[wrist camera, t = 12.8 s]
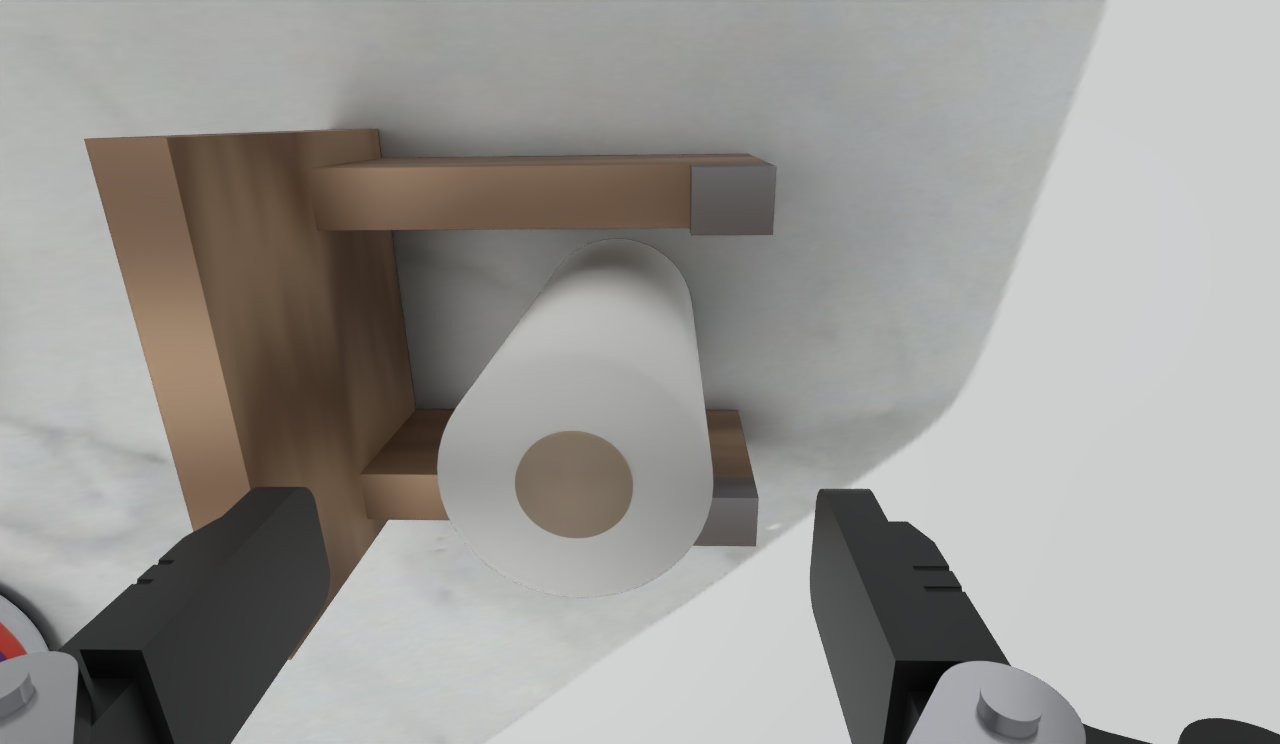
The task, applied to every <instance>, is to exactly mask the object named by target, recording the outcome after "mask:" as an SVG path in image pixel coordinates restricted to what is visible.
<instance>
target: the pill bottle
mask: <svg viewBox="0 0 1280 744" xmlns="http://www.w3.org/2000/svg"><path fill="white" fill-rule="evenodd" d="M44 651H49V650H48V648H47V645H46V643H45V641H44V639H43V637H42V636H41V634H40V632H39V631H38V630H37V628H36V627H35V626H34V624H33V623H32V622H31V620H30V619H29V618H28V617H27V616H26V615H25V614H24V613H23V612H22V611H21V610H19V609H18V608H17V607H16V606H15V605H14V604H12V603H11V602H10V601H8V600H7V599H6V598H4V597H3V596H1V595H0V662H3V661H5V660H8V659H11V658H15V657H18V656H22V655H26V654H31V653H36V652H44Z"/></svg>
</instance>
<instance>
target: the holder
mask: <svg viewBox="0 0 1280 744" xmlns="http://www.w3.org/2000/svg"><path fill="white" fill-rule="evenodd" d="M84 140H85V144H86V147H87V151H88V154H89V158H90V162H91V165H92V169H93V172H94V176H95V180H96V183H97V187H98V190H99V194H100V198H101V201H102V205H103V208H104V212H105V215H106V219H107V223H108V226H109V230H110V233H111V237H112V241H113V244H114V248H115V251H116V255H117V259H118V262H119V266H120V269H121V273H122V276H123V280H124V284H125V287H126V291H127V294H128V298H129V302H130V305H131V309H132V312H133V316H134V320H135V323H136V327H137V330H138V334H139V337H140V341H141V345H142V348H143V352H144V355H145V359H146V363H147V366H148V370H149V373H150V377H151V380H152V384H153V388H154V391H155V395H156V398H157V402H158V406H159V409H160V413H161V416H162V420H163V424H164V427H165V431H166V434H167V438H168V441H169V445H170V449H171V452H172V456H173V459H174V463H175V467H176V470H177V474H178V477H179V481H180V485H181V488H182V492H183V495H184V499H185V502H186V506H187V510H188V513H189V517H190V520H191V524H192V528H193V531H196V530H198V529H200V528H202V527H203V526H205V525H207V524H209V523H210V522H212V521H214V520H216V519H218V518H221V517H222V516H223V515H224V514H225V513H226V512H227V511H228V510H229V509H231V508H232V507H233V506H234V505H235V504H236V503H237V502H238V501H239V500H240V499H241V498H242V497H243V496H245V495H246V494H247V493H248V492H249V491H250V490H251V489H253V488H255V487H306V488H308V489H309V490H310V491H311V492H312V494H313V496H314V498H315V502H316V506H317V511H318V515H319V520H320V525H321V529H322V534H323V538H324V543H325V548H326V552H327V557H328V562H329V566H330V587H329V592H328V596H327V599H326V602H325V604H324V606H323V608H322V610H321V611H320V613H319V614H318V616H317V617H316V619H315V620H314V622H313V623H312V624H311V626H310V627H309V629H308V630H307V632H306V633H305V635H304V636H303V638H302V639H301V641H300V642H299V644H298V645H297V647H296V648H295V649H294V651H293V652H292V654H291V655H290V657H289V658H288V660H291V659H292V658H293V656H294V655H295V653H296V652H297V650H298V649H299V648H300V646H301V645H302V643H303V642H304V640H305V639H306V638H307V636H308V635H309V633H310V632H311V630H312V629H313V627H314V626H315V625H316V623H317V622H318V620H319V619H320V617H321V616H322V615H323V613H324V612H325V610H326V609H327V607H328V606H329V604H330V603H331V602H332V600H333V599H334V597H335V596H336V594H337V593H338V591H339V590H340V589H341V587H342V586H343V584H344V583H345V581H346V580H347V579H348V577H349V576H350V574H351V573H352V571H353V570H354V568H355V567H356V566H357V564H358V563H359V561H360V560H361V558H362V557H363V556H364V554H365V553H366V551H367V550H368V548H369V547H370V545H371V544H372V543H373V541H374V540H375V538H376V537H377V535H378V534H379V533H380V531H381V530H382V528H383V527H384V525H385V524H386V522H387V521H388V520H450V519H449V517H448V515H447V513H446V510H445V508H444V505H443V502H442V499H441V495H440V490H439V485H438V472H437V463H438V452H439V447H440V443H441V439H442V435H443V433H444V430H445V428H446V426H447V423H448V421H449V419H450V417H451V416H452V414H453V412H454V411H455V409H416V406H415V399H414V392H413V385H412V377H411V370H410V363H409V355H408V348H407V341H406V334H405V326H404V319H403V312H402V304H401V297H400V290H399V283H398V275H397V268H396V261H395V254H394V246H393V239H392V232H391V230H472V229H615V228H690V233H691V235H773V220H774V202H775V183H776V167H775V166H773V165H771V164H769V163H767V162H765V161H763V160H760V159H758V158H756V157H754V156H752V155H750V154H682V155H595V156H507V157H419V158H381V152H380V144H379V137H378V130H377V129H334V130H304V131H278V132H251V133H225V134H198V135H172V136H145V137H119V138H92V139H84ZM705 412H706V420H707V428H708V436H709V444H710V452H711V459H712V467H713V494H712V502H711V506H710V510H709V514H708V517H707V520H706V522H705V524H704V527H703V529H702V531H701V533H700V534H699V536H698V538H697V539H696V541H695V543H694V544H693V546H756V535H757V517H758V494H757V490H756V486H755V481H754V477H753V473H752V469H751V464H750V460H749V456H748V452H747V447H746V443H745V439H744V435H743V430H742V426H741V422H740V418H739V413H738V410H705Z"/></svg>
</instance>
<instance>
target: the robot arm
mask: <svg viewBox="0 0 1280 744" xmlns="http://www.w3.org/2000/svg"><path fill="white" fill-rule="evenodd" d="M329 587H330V566H329V562H328V557H327V552H326V548H325V543H324V538H323V534H322V529H321V525H320V520H319V515H318V511H317V506H316V502H315V498H314V496H313V494H312V492H311V491H310V490H309V489H308V488H306V487H255V488H253V489H251V490H250V491H249V492H248V493H247V494H246V495H245V496H243V497H242V498H241V499H240V500H239V501H238V502H237V503H236V504H235V505H234V506H233V507H232V508H231V509H229V510H228V511H227V512H226V513H225V514H224V515H223V516H222V517H221V518H218V519H216V520H214V521H212V522H210V523H209V524H207V525H205V526H203V527H202V528H200V529H198V530H196V531H194V532H193V533H191V534H189V535H187V536H185V537H184V538H183V539H182V540H180V541H179V542H178V543H177V544H176V545H175V546H174V547H173V548H172V549H170V550H169V551H168V552H167V553H166V554H165V555H164V556H163V557H162V558H160V559H159V563H158V565H153V566H152V567H150V568H149V569H148V570H147V571H146V572H145V573H144V574H143V575H142V576H140V577H139V578H138V579H137V584H131V585H130V586H129V587H128V588H127V589H126V590H125V591H124V592H123V593H121V594H120V595H119V596H118V597H117V598H116V599H115V600H114V601H113V602H111V603H110V604H109V605H108V606H107V607H106V608H105V609H104V610H103V611H101V612H100V613H99V614H98V615H97V616H96V617H95V618H94V619H93V620H91V621H90V622H89V623H88V624H87V625H86V626H85V627H84V628H83V629H81V630H80V631H79V632H78V633H77V634H76V635H75V636H74V637H73V638H71V639H70V640H69V641H68V642H67V643H66V644H65V645H64V646H63V647H61V648H60V649H59V650H58V651H57V652H56V651H44V652H36V653H31V654H26V655H22V656H18V657H15V658H11V659H8V660H5V661H3V662H0V744H231V742H232V741H233V739H234V738H235V736H236V735H237V733H238V732H239V730H240V729H241V728H242V726H243V725H244V723H245V722H246V720H247V719H248V717H249V716H250V714H251V713H252V711H253V710H254V708H255V707H256V705H257V704H258V703H259V701H260V700H261V698H262V697H263V695H264V694H265V692H266V691H267V689H268V688H269V686H270V685H271V683H272V682H273V680H274V679H275V677H276V676H277V675H278V673H279V672H280V670H281V669H282V667H283V666H284V664H285V663H286V661H287V660H288V658H289V657H290V655H291V654H292V652H293V651H294V649H295V648H296V647H297V645H298V644H299V642H300V641H301V639H302V638H303V636H304V635H305V633H306V632H307V630H308V629H309V627H310V626H311V624H312V623H313V622H314V620H315V619H316V617H317V616H318V614H319V613H320V611H321V610H322V608H323V606H324V604H325V602H326V599H327V596H328V592H329ZM810 593H811V601H812V608H813V613H814V617H815V620H816V623H817V627H818V630H819V634H820V637H821V641H822V644H823V647H824V651H825V654H826V657H827V660H828V664H829V668H830V671H831V674H832V677H833V681H834V684H835V688H836V691H837V695H838V698H839V701H840V705H841V708H842V711H843V715H844V718H845V721H846V725H847V728H848V732H849V735H850V738H851V742H852V744H1151V743H1147V742H1143V741H1140V740H1136V739H1132V738H1128V737H1124V736H1121V735H1117V734H1112V733H1108V732H1105V731H1102V730H1099V729H1096V728H1093V727H1090V726H1087V725H1085V724H1083V723H1082V722H1081V719H1080V717H1079V716H1078V714H1077V713H1076V711H1075V710H1074V708H1073V707H1072V706H1071V705H1070V704H1069V702H1068V701H1067V700H1066V699H1065V698H1064V697H1063V696H1062V695H1061V694H1059V693H1058V692H1057V691H1056V690H1055V689H1053V688H1052V687H1051V686H1049V685H1048V684H1047V683H1045V682H1043V681H1042V680H1040V679H1038V678H1037V677H1035V676H1033V675H1031V674H1029V673H1027V672H1025V671H1023V670H1020V669H1017V668H1014V667H1012V666H1011V665H1010V664H1009V662H1008V661H1007V659H1006V657H1005V655H1004V654H1003V652H1002V651H1001V649H1000V647H999V646H998V644H997V643H996V641H995V639H994V638H993V636H992V635H991V633H990V631H989V630H988V628H987V627H986V625H985V623H984V622H983V620H982V618H981V617H980V615H979V614H978V612H977V610H976V609H975V607H974V606H973V604H972V603H971V601H970V599H969V598H968V596H967V594H966V593H965V592H962V586H961V585H960V583H959V582H958V580H957V578H956V577H955V575H954V573H953V572H952V571H949V565H948V564H947V562H946V561H945V559H944V557H943V556H942V554H941V552H940V551H939V549H938V548H937V546H936V544H935V543H934V542H933V541H932V540H930V539H929V538H928V537H927V536H925V535H924V534H923V533H922V532H920V531H919V530H917V529H916V528H915V527H914V526H912V525H911V524H909V523H908V522H888V520H887V518H886V516H885V515H884V513H883V511H882V509H881V507H880V505H879V503H878V502H877V500H876V498H875V496H874V494H873V493H872V491H871V490H870V489H820V490H819V492H818V495H817V500H816V510H815V522H814V533H813V544H812V556H811V567H810ZM1178 744H1280V735H1279V734H1277V733H1274V732H1272V731H1269V730H1267V729H1264V728H1261V727H1258V726H1255V725H1252V724H1249V723H1245V722H1241V721H1236V720H1230V719H1222V718H1212V719H1211V718H1208V719H1202V720H1198V721H1195V722H1193V723H1191V724H1189V725H1188V726H1187V727H1186V728H1184V730H1183V732H1182V734H1181V735H1180V738H1179V741H1178Z"/></svg>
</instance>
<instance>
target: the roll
mask: <svg viewBox="0 0 1280 744" xmlns="http://www.w3.org/2000/svg"><path fill="white" fill-rule="evenodd" d="M437 472H438V485H439V490H440V495H441V499H442V502H443V505H444V508H445V510H446V513H447V515H448V517H449V519H450V521H451V523H452V525H453V527H454V529H455V530H456V532H457V533H458V534H459V536H460V537H461V539H462V540H463V542H464V543H465V544H466V545H467V546H468V547H469V548H470V550H471V551H472V552H473V553H474V554H475V555H476V556H477V557H478V558H480V559H481V560H482V561H483V562H484V563H485V564H486V565H488V566H489V567H491V568H492V569H493V570H495V571H496V572H498V573H499V574H501V575H502V576H504V577H506V578H508V579H510V580H512V581H513V582H515V583H518V584H520V585H523V586H525V587H527V588H530V589H533V590H536V591H540V592H543V593H547V594H552V595H558V596H563V597H577V598H587V597H601V596H608V595H614V594H618V593H622V592H625V591H629V590H632V589H634V588H637V587H639V586H642V585H644V584H646V583H648V582H650V581H652V580H654V579H656V578H657V577H659V576H661V575H662V574H663V573H665V572H666V571H668V570H669V569H670V568H672V567H673V566H674V565H675V564H676V563H677V562H678V561H679V560H680V559H681V558H683V557H684V555H685V554H686V553H687V552H688V551H689V549H690V548H691V547H692V546H693V544H694V543H695V541H696V539H697V538H698V536H699V534H700V533H701V531H702V529H703V527H704V524H705V522H706V520H707V517H708V514H709V510H710V506H711V502H712V494H713V467H712V459H711V452H710V444H709V436H708V428H707V420H706V412H705V404H704V396H703V388H702V380H701V372H700V364H699V356H698V348H697V340H696V332H695V324H694V316H693V308H692V301H691V296H690V292H689V289H688V286H687V284H686V282H685V280H684V278H683V276H682V274H681V273H680V271H679V270H678V268H677V267H676V266H675V265H674V264H673V263H672V262H671V261H670V260H669V259H668V258H667V257H666V256H665V255H664V254H662V253H661V252H659V251H658V250H656V249H654V248H652V247H650V246H648V245H646V244H643V243H640V242H637V241H633V240H627V239H606V240H601V241H597V242H594V243H591V244H588V245H586V246H584V247H582V248H580V249H578V250H577V251H575V252H574V253H573V254H571V255H570V256H569V257H568V258H567V259H566V260H564V261H563V263H562V264H561V265H560V266H559V267H558V269H557V270H556V271H555V273H554V274H553V276H552V277H551V278H550V280H549V281H548V282H547V284H546V285H545V287H544V288H543V289H542V291H541V292H540V293H539V295H538V296H537V297H536V299H535V300H534V302H533V303H532V304H531V306H530V307H529V308H528V310H527V311H526V313H525V314H524V315H523V317H522V318H521V319H520V321H519V322H518V324H517V325H516V326H515V328H514V329H513V330H512V332H511V333H510V335H509V336H508V337H507V339H506V340H505V341H504V343H503V344H502V345H501V347H500V348H499V350H498V351H497V352H496V354H495V355H494V356H493V358H492V359H491V361H490V362H489V363H488V365H487V366H486V367H485V369H484V370H483V372H482V373H481V374H480V376H479V377H478V378H477V380H476V381H475V382H474V384H473V385H472V387H471V388H470V389H469V391H468V392H467V393H466V395H465V396H464V398H463V399H462V400H461V402H460V403H459V404H458V406H457V407H456V409H455V411H454V412H453V414H452V416H451V417H450V419H449V421H448V423H447V426H446V428H445V430H444V433H443V435H442V439H441V443H440V447H439V452H438V463H437Z"/></svg>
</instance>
